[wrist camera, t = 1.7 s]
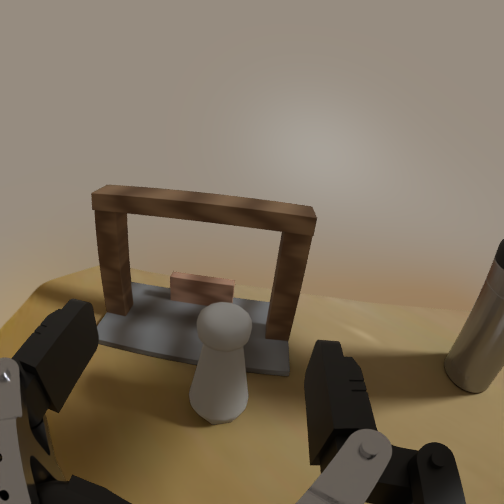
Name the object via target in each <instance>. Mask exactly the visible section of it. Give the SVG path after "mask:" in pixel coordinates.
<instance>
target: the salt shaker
mask: <svg viewBox="0 0 504 504" xmlns="http://www.w3.org/2000/svg"><path fill="white" fill-rule="evenodd" d="M251 329H252V320H251V318H250V316H249V313H248V312H246V311H245V310H244V309H243V308H241V307H240V306H239V305H236V304H233V303H228V302H218V303H213V304H211V305H209V306H207V307H205V308H204V309H202V310H201V312H200V314H199V316H198V319H197V332H198V337H199V339H200V341H201V342H202V343H203V346H202V350H201V354H200V357H199V361H198V364H197V368H196V371H195V374H194V378H193V381H192V384H191V388H190V391H189V397H190V404H191V406H192V408H193V409H194V410H195V411H196V412H197V413H198V414H199V415H200V416H201V417H203V418H204V419H206V420H207V421H208V422H210V423H211V424H213V425H215V424H223V423H231V422H232V421H233V420H234V419H236V418H237V417H238V416H239V415H240V414H241V413H242V412H243V411H244V410H245V408H246V405H247V401H248V388H247V378H246V368H245V358H244V348H243V346H244V345H245V344H246V343H247V342H248V340H249V337H250V334H251Z"/></svg>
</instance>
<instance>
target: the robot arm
mask: <svg viewBox="0 0 504 504" xmlns="http://www.w3.org/2000/svg"><path fill="white" fill-rule="evenodd" d="M98 342H99V334H98V330H97V325H96V321H95V316H94V311H93V306H92V304H91V303H89V302H85V301H81V300H77V299H71V300H69V301H68V303H67V304H66V305H65V306H64V307H63V308H62V309H58V310H56V311H55V312H53V313H51V314H50V315H48V316H47V317H46V318H45V319H44V321H43V322H42V323H41V325H40V326H38V327H37V329H36V330H35V332H34V333H32V334H31V336H30V337H29V338H28V339H27V340H26V342H25V343H24V344H23V345H22V346H21V348H20V349H19V350H18V351H17V352H16V354H15V355H14V356H13V357H12V358H0V504H131V503H129V502H128V501H126V500H124V499H122V498H121V497H119V496H117V495H116V494H114V493H112V492H111V491H109V490H108V489H106V488H104V487H102V486H99V485H96V484H94V483H91V482H89V481H86V480H84V479H81V478H79V477H77V476H74V475H72V476H71V479H70V481H66V480H65V477H64V475H63V473H62V471H61V469H60V467H59V466H58V464H57V461H56V458H55V454H54V450H53V446H52V442H51V437H50V432H49V427H48V422H47V418H46V415H45V413H46V411H47V409H50V410H52V411H55V412H57V413H59V412H60V410H61V408H62V407H63V405H64V403H65V401H66V400H67V398H68V396H69V394H70V393H71V391H72V389H73V387H74V386H75V384H76V382H77V381H78V379H79V377H80V376H81V374H82V372H83V371H84V369H85V367H86V366H87V364H88V363H89V361H90V359H91V358H92V356H93V354H94V353H95V351H96V349H97V347H98ZM444 366H445V370H446V372H447V374H448V376H449V377H450V379H451V380H452V381H453V382H454V383H455V384H456V385H457V386H459V387H460V388H462V389H464V390H466V391H469V392H473V393H480V392H483V391H485V390H486V389H487V388H488V387H489V385H490V384H491V383H492V381H493V380H494V379H495V377H496V376H497V374H498V373H499V372H500V370H501V369H502V367H503V366H504V239H503V240H502V241H501V243H500V245H499V247H498V250H497V253H496V255H495V258H494V260H493V263H492V266H491V268H490V271H489V273H488V276H487V278H486V280H485V283H484V285H483V287H482V289H481V292H480V294H479V296H478V298H477V300H476V302H475V305H474V307H473V309H472V311H471V313H470V315H469V317H468V319H467V321H466V323H465V324H464V326H463V328H462V330H461V332H460V334H459V336H458V337H457V339H456V341H455V343H454V344H453V346H452V348H451V350H450V351H449V353H448V355H447V356H446V358H445V362H444ZM304 389H305V401H306V414H307V427H308V442H309V458H310V465H320V469H321V475H320V476H319V477H318V478H317V480H316V481H315V482H314V483H313V484H312V486H311V487H310V488H309V489H308V490H307V491H306V493H305V494H304V495H303V496H302V497H301V498H300V499H299V500H298V502H297V503H296V504H364V503H365V502H366V503H372V504H466V502H465V497H464V493H463V488H462V484H461V480H460V476H459V472H458V469H457V465H456V461H455V458H454V455H453V453H452V452H451V450H450V449H449V448H448V447H447V446H445V445H443V444H441V443H436V442H432V443H428V444H426V445H424V446H423V447H422V448H421V449H420V450H419V451H417V450H411V449H406V448H401V447H396V446H393V445H391V443H390V441H389V440H388V439H387V437H386V436H385V435H383V434H382V433H380V432H378V431H377V428H376V424H375V420H374V416H373V412H372V408H371V404H370V400H369V397H368V393H367V392H366V390H367V389H366V386H365V382H364V378H363V375H362V371H361V368H360V367H359V365H358V364H357V363H356V361H355V360H354V359H353V358H352V357H344V356H343V352H342V348H341V344H340V342H339V341H327V340H317V341H316V343H315V346H314V349H313V352H312V355H311V358H310V361H309V364H308V367H307V370H306V374H305V380H304Z"/></svg>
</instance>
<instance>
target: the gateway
mask: <svg viewBox="0 0 504 504" xmlns="http://www.w3.org/2000/svg"><path fill="white" fill-rule="evenodd" d="M91 195H92V210H95V224H96V236H97V246H98V255H99V263H100V271H101V278H102V285H103V292H104V298H105V304H106V310H107V313H106V314H105V316H104V317H103V319H102V320H101V322H100V323H99V324H98V326H97V330H98V334H99V342H98V344H102V345H106V346H110V347H114V348H118V349H122V350H126V351H130V352H135V353H139V354H144V355H148V356H153V357H158V358H163V359H168V360H173V361H178V362H184V363H189V364H195V365H197V364H198V361H199V357H200V354H201V350H202V346H203V343H202V342H201V341H200V339H199V337H198V332H197V319H198V316H199V314H200V312H201V310H202V309H204V308H205V307H207V306H209V305H211V304H213V303H218V302H228V303H233V304H236V305H239V306H240V307H241V308H243V309H244V310H245V311H246V312H248V313H249V316H250V318H251V320H252V329H251V334H250V337H249V340H248V342H247V343H246V344H245V345H244V346H243V348H244V358H245V368H246V372H252V373H261V374H270V375H281V376H289V373H290V366H289V347H288V340H289V336H290V332H291V328H292V324H293V320H294V316H295V312H296V308H297V303H298V299H299V295H300V291H301V286H302V282H303V277H304V273H305V268H306V264H307V259H308V254H309V250H310V245H311V240H312V236H313V235H314V231H315V226H316V221H317V217H316V215H315V212H314V210H313V208H312V207H311V206H304V205H297V204H290V203H283V202H276V201H269V200H260V199H253V198H244V197H237V196H228V195H219V194H210V193H201V192H190V191H181V190H170V189H159V188H147V187H134V186H120V185H106V186H104V187H102V188H100V189H98V190H97V191H95V192H93V193H92V194H91ZM127 213H130V214H139V215H149V216H157V217H167V218H176V219H184V220H193V221H202V222H210V223H218V224H226V225H234V226H243V227H250V228H258V229H265V230H273V231H280V232H282V235H281V241H280V247H279V253H278V259H277V265H276V270H275V277H274V282H273V287H272V293H271V299H270V302H263V301H255V300H247V299H240V298H233V294H234V284H235V280H229V279H222V278H214V277H207V276H200V275H193V274H185V273H179V272H173V273H172V274H171V276H170V288H164V287H158V286H152V285H146V284H140V283H135V282H131V274H130V262H129V247H128V228H127Z"/></svg>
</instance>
